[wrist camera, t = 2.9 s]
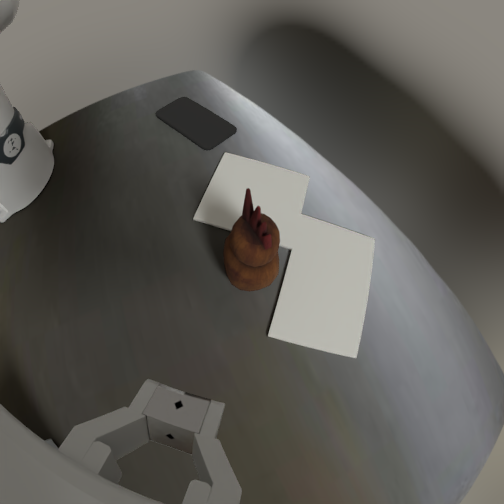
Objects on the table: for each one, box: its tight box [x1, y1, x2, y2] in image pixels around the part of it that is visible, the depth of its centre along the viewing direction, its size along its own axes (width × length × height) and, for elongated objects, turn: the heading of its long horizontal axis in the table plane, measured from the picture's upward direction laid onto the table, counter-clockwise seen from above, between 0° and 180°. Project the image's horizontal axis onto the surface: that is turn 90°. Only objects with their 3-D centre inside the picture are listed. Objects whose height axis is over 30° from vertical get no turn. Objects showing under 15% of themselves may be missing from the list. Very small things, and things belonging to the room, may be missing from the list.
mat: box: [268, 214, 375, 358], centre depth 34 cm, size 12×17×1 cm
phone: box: [156, 97, 237, 150], centre depth 44 cm, size 7×1×15 cm
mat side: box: [193, 152, 310, 250], centre depth 38 cm, size 14×12×1 cm
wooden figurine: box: [224, 188, 280, 291], centre depth 27 cm, size 7×6×15 cm
